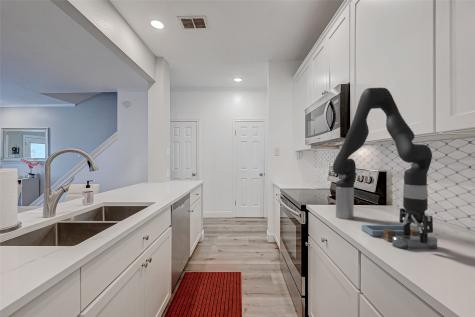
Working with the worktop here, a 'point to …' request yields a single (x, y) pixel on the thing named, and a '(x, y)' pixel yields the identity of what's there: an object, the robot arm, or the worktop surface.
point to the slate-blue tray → (378, 229)
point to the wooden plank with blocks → (389, 233)
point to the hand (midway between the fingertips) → (414, 239)
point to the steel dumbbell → (413, 242)
